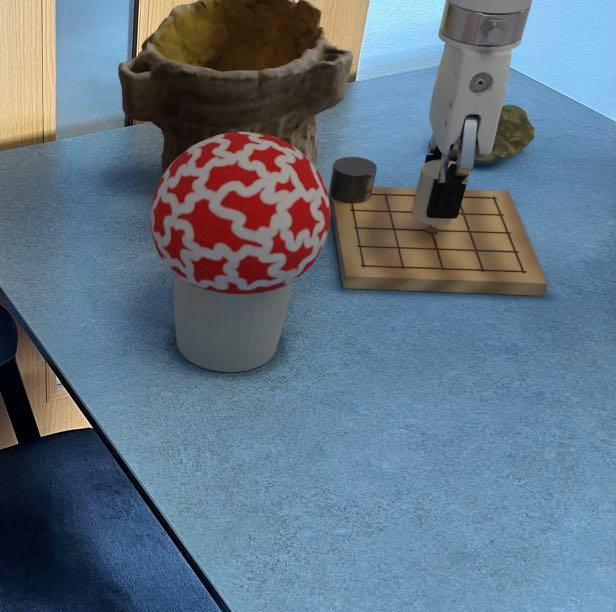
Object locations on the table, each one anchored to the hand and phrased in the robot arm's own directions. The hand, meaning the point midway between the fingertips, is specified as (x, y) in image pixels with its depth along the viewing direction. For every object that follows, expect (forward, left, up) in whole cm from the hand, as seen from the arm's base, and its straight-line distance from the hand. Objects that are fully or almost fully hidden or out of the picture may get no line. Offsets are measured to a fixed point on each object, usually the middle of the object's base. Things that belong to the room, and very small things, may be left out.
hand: (437, 202), depth 109 cm
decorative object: (+22, +21, -5) cm, 31 cm away
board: (0, 0, -5) cm, 5 cm away
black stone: (+8, -8, -3) cm, 12 cm away
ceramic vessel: (+23, -9, -5) cm, 25 cm away
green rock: (-10, -24, -5) cm, 26 cm away
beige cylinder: (0, 0, -1) cm, 1 cm away
